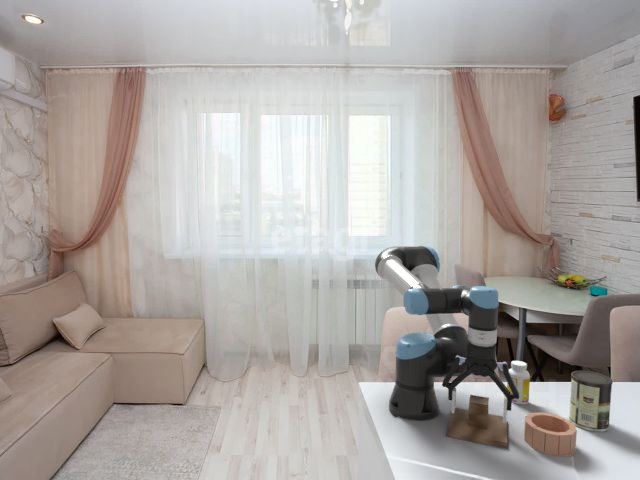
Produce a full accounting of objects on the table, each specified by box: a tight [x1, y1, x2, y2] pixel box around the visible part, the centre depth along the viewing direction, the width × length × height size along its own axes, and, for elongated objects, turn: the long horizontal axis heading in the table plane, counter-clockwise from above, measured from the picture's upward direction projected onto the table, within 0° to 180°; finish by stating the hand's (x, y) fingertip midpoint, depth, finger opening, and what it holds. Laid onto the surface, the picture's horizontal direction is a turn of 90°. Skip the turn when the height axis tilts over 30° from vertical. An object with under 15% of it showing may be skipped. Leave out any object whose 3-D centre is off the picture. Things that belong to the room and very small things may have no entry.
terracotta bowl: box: [523, 412, 578, 457], centre depth 118 cm, size 12×12×6 cm
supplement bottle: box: [506, 360, 531, 405], centre depth 144 cm, size 7×7×13 cm
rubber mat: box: [444, 410, 510, 451], centre depth 125 cm, size 16×16×1 cm
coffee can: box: [568, 370, 614, 433], centre depth 130 cm, size 10×10×14 cm
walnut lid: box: [447, 394, 508, 448], centre depth 125 cm, size 15×15×8 cm
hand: (478, 416), depth 125 cm, fingers open, 13 cm apart
